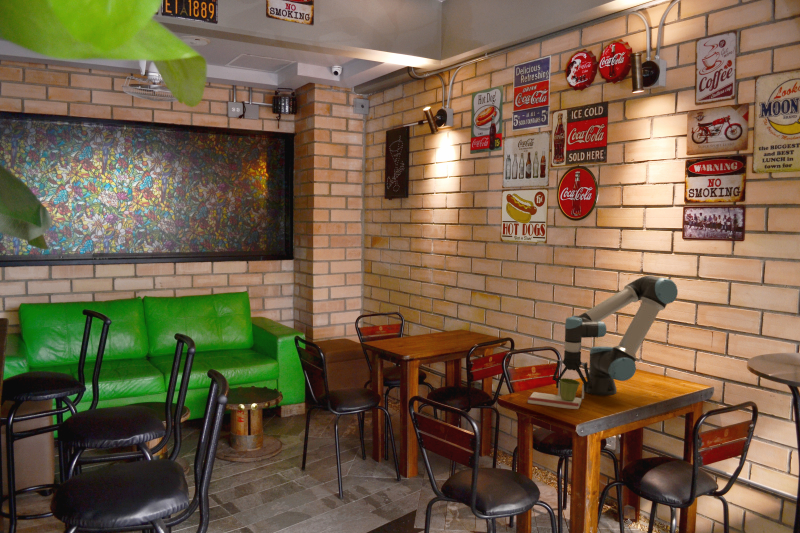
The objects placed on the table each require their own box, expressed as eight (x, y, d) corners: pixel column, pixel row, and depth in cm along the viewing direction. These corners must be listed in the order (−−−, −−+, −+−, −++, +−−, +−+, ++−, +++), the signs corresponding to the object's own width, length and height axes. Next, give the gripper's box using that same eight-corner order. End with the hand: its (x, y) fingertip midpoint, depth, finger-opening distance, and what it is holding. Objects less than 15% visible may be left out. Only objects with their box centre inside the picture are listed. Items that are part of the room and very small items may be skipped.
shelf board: (581, 401, 285) (581, 395, 284) (578, 409, 272) (578, 403, 271) (533, 394, 294) (533, 389, 293) (527, 402, 281) (528, 397, 281)
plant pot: (554, 398, 280) (557, 380, 279) (560, 394, 288) (563, 376, 287) (574, 404, 275) (577, 386, 274) (579, 399, 283) (582, 381, 282)
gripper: (598, 351, 278) (596, 397, 280) (549, 346, 287) (547, 391, 289) (597, 354, 271) (595, 402, 273) (546, 349, 280) (545, 395, 282)
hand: (570, 396), depth 281 cm, fingers open, 10 cm apart
